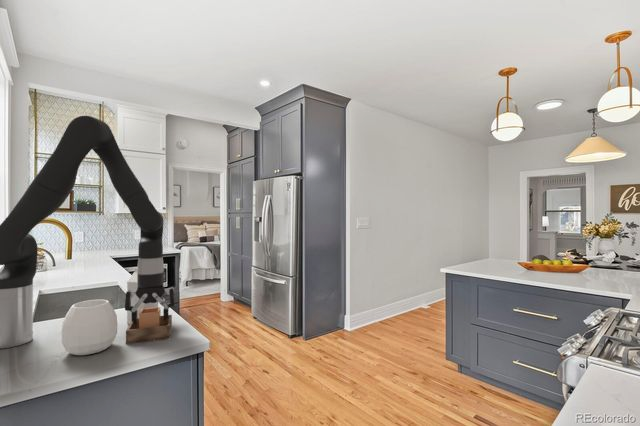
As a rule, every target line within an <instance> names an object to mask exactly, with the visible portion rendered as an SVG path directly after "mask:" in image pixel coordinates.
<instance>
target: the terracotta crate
mask: <svg viewBox="0 0 640 426" xmlns="http://www.w3.org/2000/svg"><path fill="white" fill-rule="evenodd" d="M161 309H162V308H161V307H159V306H158V308H147V309H141V311H140V313H139V329H140V328H149V327H158V326H160V316H161Z"/></svg>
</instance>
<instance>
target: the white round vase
mask: <svg viewBox="0 0 640 426" xmlns="http://www.w3.org/2000/svg"><path fill="white" fill-rule="evenodd" d="M61 327H62V328H61V343H62V346H63V347H64V350H65V351H66V352H67V353H69V354H71V355H74V356H86V355H91V354H96V353H100V352H102V351H105V350H106V349H108V348H109V347H110V346H112V344H113V343H114V341H115V339H116V337H117V334H118V316H117V313H116V310H115V308H114V307H113V306H112V304H111V302H110V301H109V300H107V299H89V300H84V301H79V302H77V303H76V302H75V303H73V304H72V305H71V307H70V308H69V310H68V311H67V313H66V314H65V316H64V319H63V321H62V325H61Z"/></svg>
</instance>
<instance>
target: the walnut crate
mask: <svg viewBox="0 0 640 426" xmlns="http://www.w3.org/2000/svg"><path fill="white" fill-rule="evenodd" d="M172 319H173V315H172V314H168V318H167V319H166V320H165V321H163V315H160V326H158V327H149V328H140V329H139V318H137V323H135V324H134V322H132V321H131V322H130V324H128V326H127V328H126V330H125V345H129V344H137V343H146V341H147V342H152V341H153V340H155V341H160V340H161V339H163V340H168V339H169V338H171V334H170V333H172V327H173V323H172V322H173V320H172ZM153 342H154V341H153Z"/></svg>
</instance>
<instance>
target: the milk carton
mask: <svg viewBox="0 0 640 426" xmlns="http://www.w3.org/2000/svg"><path fill="white" fill-rule="evenodd" d="M137 276H138V268H134V272H133V273H132V274H131V276H130V277H129V278H128V280H127V286H126V288H127V291H128V290H131V291H137ZM127 291H126V292H127ZM138 300H139V298H138V297H137V296H136V294H135V295H134V296H133V297H132V298H131V306H134V305H135V304H136V303H137V302H138ZM158 307H159V302H158V301H157V302H156V303H147V304H145V303H143V302H142V303H141V305H140V306H139V307H138V308H137V318H139V313H140V311H141V309H147V308H158ZM126 313H127V314H126V319H127V320H126V323H127V324H128V325H129V324H130V322H131V321H132V312H131V311H126Z"/></svg>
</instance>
